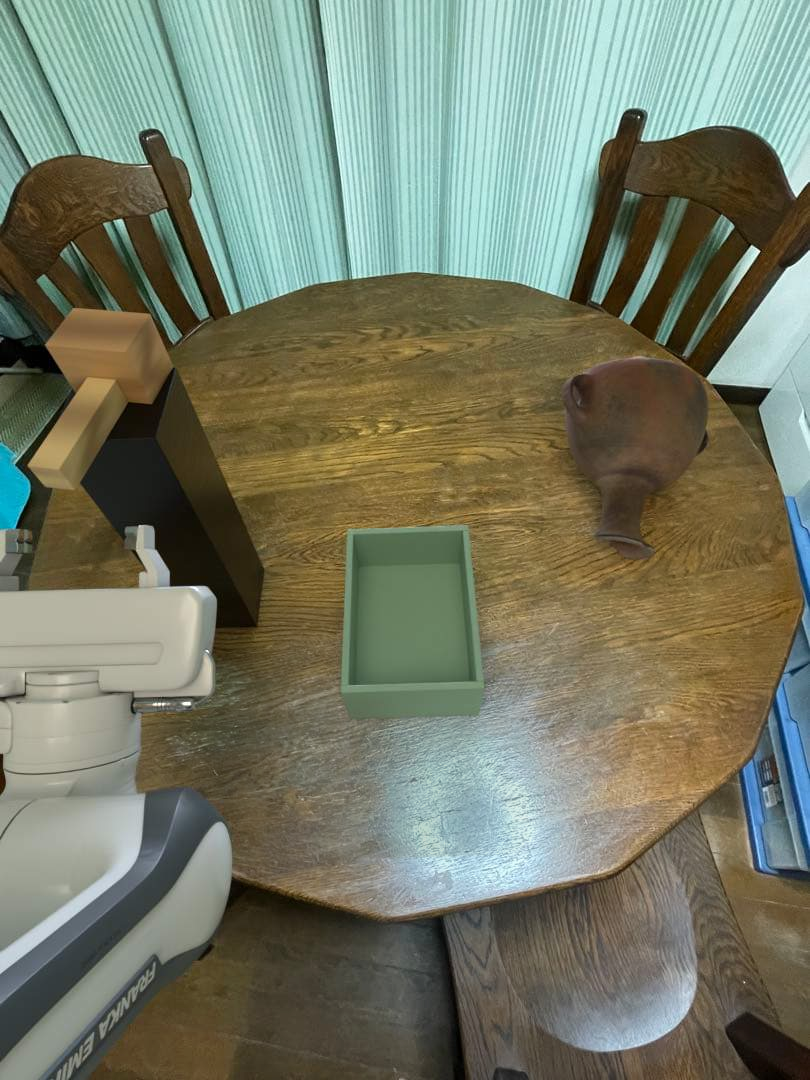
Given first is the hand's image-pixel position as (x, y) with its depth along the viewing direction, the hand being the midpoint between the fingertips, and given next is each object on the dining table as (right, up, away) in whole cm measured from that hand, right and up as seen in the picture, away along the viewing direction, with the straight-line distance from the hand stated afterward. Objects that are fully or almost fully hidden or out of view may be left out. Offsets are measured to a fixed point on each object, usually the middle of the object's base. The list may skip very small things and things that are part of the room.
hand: (78, 527), depth 45 cm
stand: (0, -9, +37) cm, 38 cm away
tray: (+26, -14, +33) cm, 44 cm away
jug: (+57, +6, +46) cm, 73 cm away
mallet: (-1, +9, +6) cm, 11 cm away
